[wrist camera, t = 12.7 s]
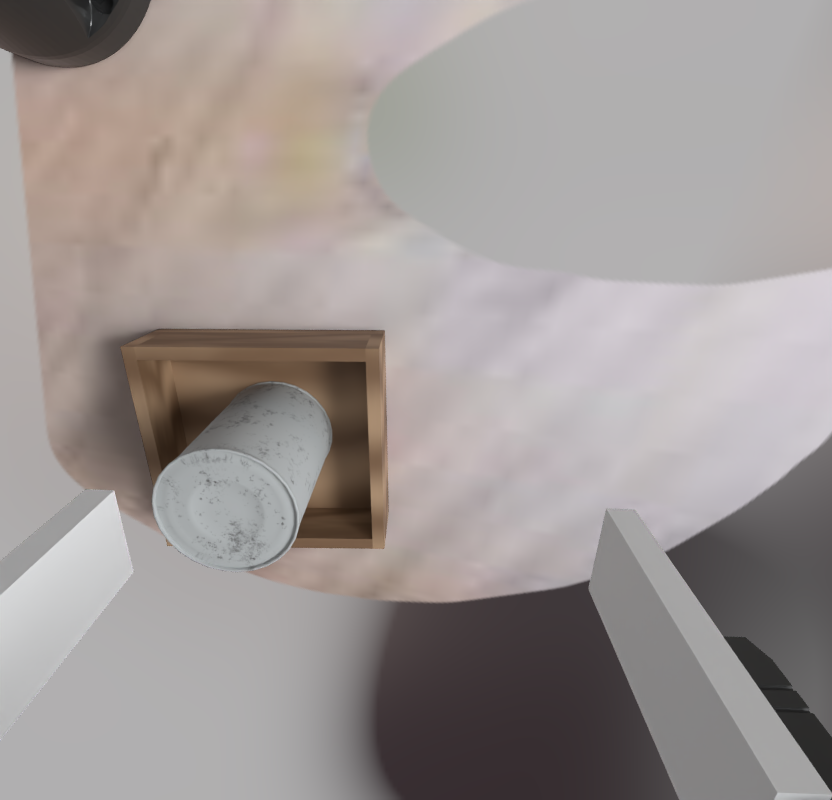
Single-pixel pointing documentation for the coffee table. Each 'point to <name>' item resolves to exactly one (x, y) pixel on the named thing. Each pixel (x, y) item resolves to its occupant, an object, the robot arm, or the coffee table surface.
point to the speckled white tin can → (245, 479)
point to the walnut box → (280, 362)
